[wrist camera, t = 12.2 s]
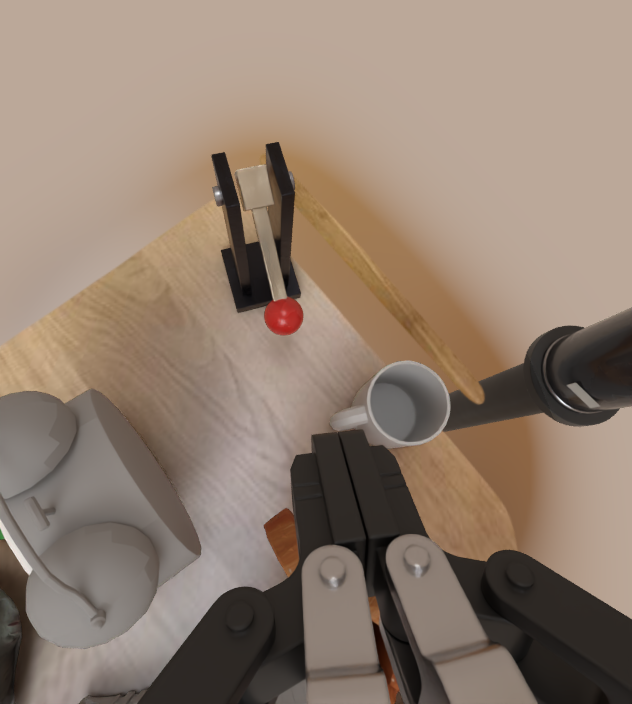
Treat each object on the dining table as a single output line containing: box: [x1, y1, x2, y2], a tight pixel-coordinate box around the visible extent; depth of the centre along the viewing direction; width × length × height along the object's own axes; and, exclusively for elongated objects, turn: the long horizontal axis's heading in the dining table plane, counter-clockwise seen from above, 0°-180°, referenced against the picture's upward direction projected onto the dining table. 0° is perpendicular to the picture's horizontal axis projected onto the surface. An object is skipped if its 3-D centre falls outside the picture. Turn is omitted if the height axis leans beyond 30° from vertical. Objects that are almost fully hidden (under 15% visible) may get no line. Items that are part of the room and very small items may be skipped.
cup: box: [330, 361, 450, 449], centre depth 42 cm, size 7×10×9 cm
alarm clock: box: [0, 389, 201, 649], centre depth 31 cm, size 16×9×22 cm, turn 36°
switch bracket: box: [212, 142, 301, 313], centre depth 40 cm, size 7×7×18 cm
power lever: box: [235, 164, 303, 336], centre depth 35 cm, size 13×3×3 cm, turn 17°
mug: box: [264, 508, 400, 704], centre depth 35 cm, size 15×8×15 cm, turn 35°
